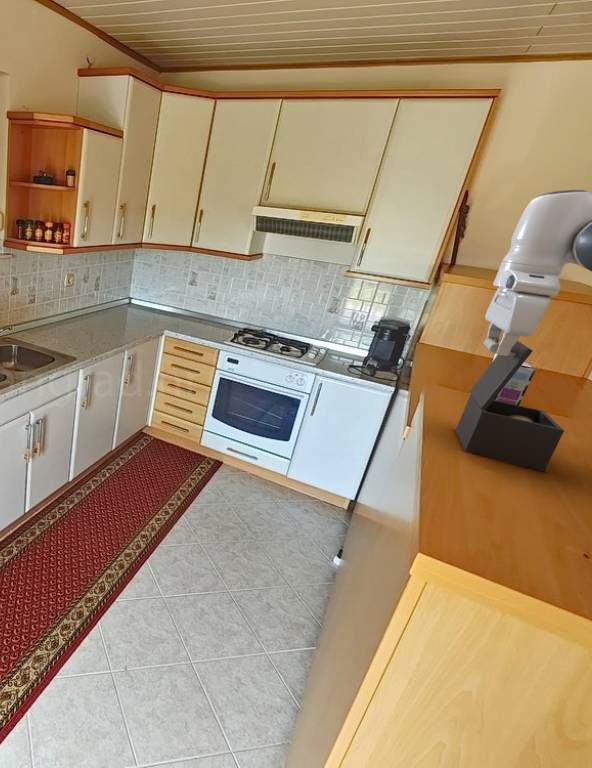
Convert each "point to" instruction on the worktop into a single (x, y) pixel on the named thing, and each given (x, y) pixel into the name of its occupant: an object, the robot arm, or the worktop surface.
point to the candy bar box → (516, 384)
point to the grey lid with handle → (498, 372)
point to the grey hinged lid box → (509, 433)
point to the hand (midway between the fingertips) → (495, 350)
